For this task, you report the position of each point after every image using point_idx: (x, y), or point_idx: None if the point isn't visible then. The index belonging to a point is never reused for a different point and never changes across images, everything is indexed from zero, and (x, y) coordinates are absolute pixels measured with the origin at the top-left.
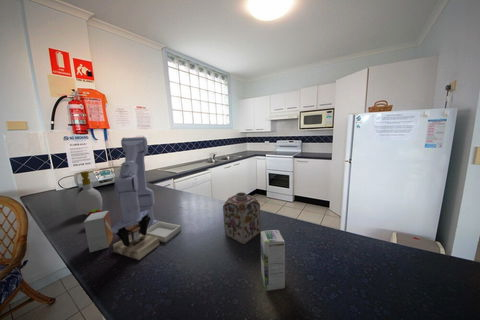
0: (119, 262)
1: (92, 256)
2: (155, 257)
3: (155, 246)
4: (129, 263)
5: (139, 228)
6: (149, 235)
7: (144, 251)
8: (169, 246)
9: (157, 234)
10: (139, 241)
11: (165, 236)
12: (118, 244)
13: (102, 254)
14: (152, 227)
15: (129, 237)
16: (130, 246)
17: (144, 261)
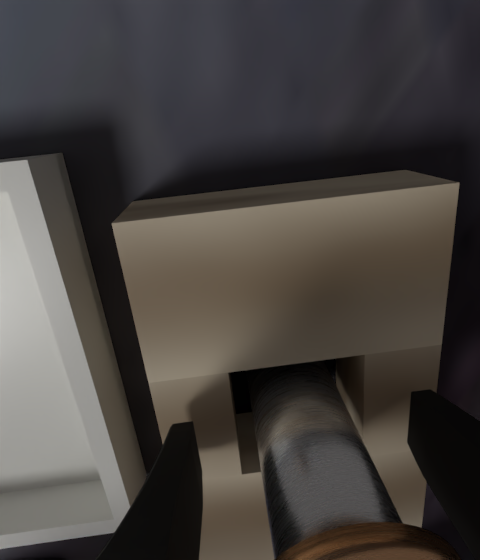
0: (473, 315)
1: (464, 542)
2: (313, 10)
3: (187, 197)
4: (465, 216)
5: (317, 548)
6: (116, 421)
7: (348, 186)
8: (80, 21)
9: (59, 332)
10: (284, 382)
11: (12, 171)
12: (401, 509)
13: (432, 513)
14: (9, 521)
15: None
16: (390, 381)
17: (405, 85)
